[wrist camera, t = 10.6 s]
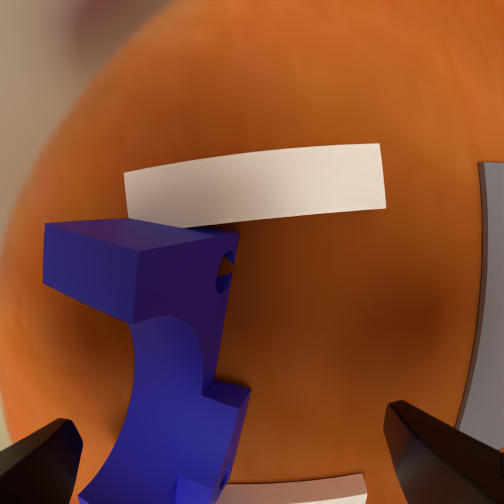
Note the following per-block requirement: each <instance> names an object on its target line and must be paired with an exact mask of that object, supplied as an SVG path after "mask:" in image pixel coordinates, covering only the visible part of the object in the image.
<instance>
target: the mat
mask: <svg viewBox="0 0 504 504" xmlns="http://www.w3.org/2000/svg"><path fill="white" fill-rule="evenodd" d="M479 172H480V183H481V197H482V218H483V258H482V280H481V294H480V305H479V314H478V322H477V330H476V337H475V343H474V349H473V355H472V361H471V366H470V371H469V376H468V380H467V385H466V389H465V393H464V397H463V401H462V405H461V409H460V413H459V416H458V420H457V423H456V427H455V428H456V429H457V430H459V431H461V432H463V433H465V434H467V435H469V436H471V437H473V438H475V439H477V440H479V441H481V442H483V443H485V444H487V445H489V446H491V447H493V448H495V449H497V450H499V449H502V448H504V163H492V162H482V163H479Z"/></svg>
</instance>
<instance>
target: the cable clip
mask: <svg viewBox="0 0 504 504" xmlns="http://www.w3.org/2000/svg"><path fill="white" fill-rule="evenodd" d="M239 233H240V232H234V231H229V230H224V229H218V228H213V227H208V226H196V227H187V228H179V227H174V226H169V225H163V224H158V223H152V222H147V221H142V220H136V219H131V218H122V219H103V220H86V221H70V222H55V223H45V235H44V257H43V283H44V284H46V285H48V286H50V287H52V288H54V289H56V290H57V291H59V292H61V293H64V294H66V295H68V296H70V297H72V298H74V299H76V300H78V301H80V302H82V303H84V304H86V305H89V306H91V307H93V308H95V309H97V310H99V311H102V312H104V313H106V314H108V315H111V316H113V317H115V318H117V319H120V320H122V321H124V322H127V323H128V324H129V328H130V331H131V334H132V339H133V345H134V354H135V373H134V383H133V390H132V395H131V400H130V404H129V408H128V412H127V415H126V418H125V422H124V424H123V427H122V430H121V432H120V434H119V437H118V439H117V441H116V443H115V445H114V447H113V449H112V451H111V453H110V455H109V456H108V458H107V460H106V461H105V463H104V465H103V466H102V468H101V469H100V470H99V472H98V473H97V475H96V476H95V477H94V478H93V480H92V481H91V482H90V483H89V484H88V485H87V486H86V487H85V488H84V489H83V490H82V491H81V492H80V493H79V494H78V495H77V496H78V499H79V502H80V504H215V503H216V501H217V499H218V498H219V496H220V494H221V492H222V491H223V489H224V487H225V485H226V484H227V482H228V480H229V478H230V474H231V470H232V466H233V462H234V458H235V454H236V450H237V446H238V442H239V438H240V434H241V430H242V426H243V422H244V417H245V413H246V409H247V405H248V401H249V396H250V392H251V389H249V388H245V387H242V386H239V385H234V384H229V383H224V382H219V381H214V378H215V372H216V366H217V360H218V354H219V348H220V342H221V336H222V330H223V324H224V319H225V313H226V307H227V301H228V295H229V290H230V284H231V278H232V272H233V271H232V272H231V273H229V274H227V275H224V276H219V277H217V272H218V268H219V265H220V263H221V260H222V258H223V256H224V257H226V258H227V259H228V260H230V261H231V262H232V264H233V266H234V261H235V256H236V250H237V244H238V239H239Z"/></svg>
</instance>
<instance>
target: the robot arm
mask: <svg viewBox="0 0 504 504" xmlns="http://www.w3.org/2000/svg"><path fill="white" fill-rule="evenodd" d="M383 429H384V434H385V437H386V441H387V444H388V448H389V451H390V455H391V458H392V462H393V465H394V469H395V472H396V475H397V478H398V481H399V483H400V486H401V488H402V490H403V493H404V495H405V498H406V500H407V502H408V504H504V453H503V452H501V453H500V451H499V450H497V449H495V448H493V447H491V446H489V445H487V444H485V443H483V442H481V441H479V440H477V439H475V438H473V437H471V436H469V435H467V434H465V433H463V432H461V431H459V430H457V429H456V428H454V427H452V426H450V425H448V424H446V423H444V422H442V421H441V420H439V419H437V418H435V417H433V416H431V415H429V414H428V413H426V412H424V411H422V410H420V409H418V408H417V407H415V406H413V405H411V404H409V403H408V402H406V401H404V400H398V401H395V402H391V403H389V404H388V405H387V408H386V413H385V419H384V425H383ZM82 448H83V441H82V438H81V436H80V434H79V432H78V430H77V429H76V427H75V425H74V423H73V422H72V421H71V420H70V419H64V418H58V419H56V420H55V421H53V422H51V423H49V424H48V425H46V426H44V427H43V428H41V429H39V430H37V431H36V432H34V433H32V434H30V435H29V436H27V437H25V438H23V439H22V440H20V441H18V442H16V443H14V444H13V445H11V446H9V447H7V448H6V449H4V450H2V451H0V504H69V502H70V499H71V496H72V493H73V489H74V486H75V481H76V476H77V471H78V467H79V462H80V457H81V453H82Z"/></svg>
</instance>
